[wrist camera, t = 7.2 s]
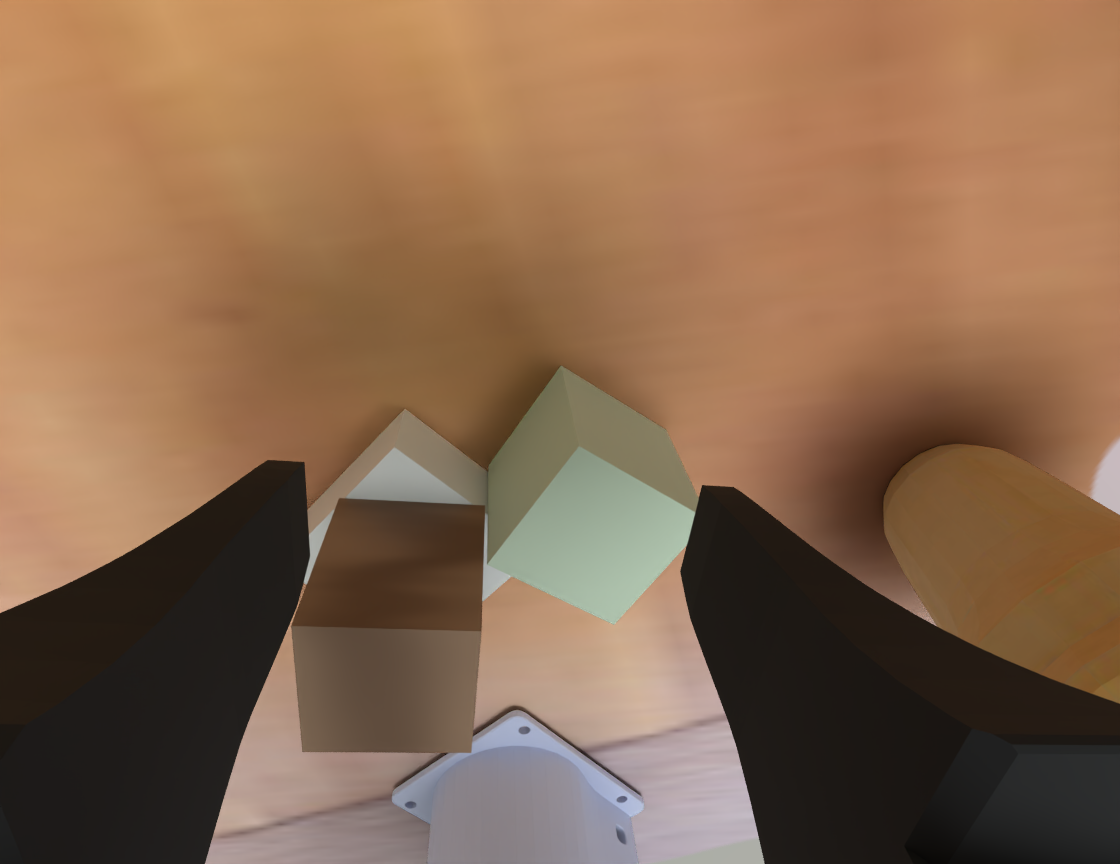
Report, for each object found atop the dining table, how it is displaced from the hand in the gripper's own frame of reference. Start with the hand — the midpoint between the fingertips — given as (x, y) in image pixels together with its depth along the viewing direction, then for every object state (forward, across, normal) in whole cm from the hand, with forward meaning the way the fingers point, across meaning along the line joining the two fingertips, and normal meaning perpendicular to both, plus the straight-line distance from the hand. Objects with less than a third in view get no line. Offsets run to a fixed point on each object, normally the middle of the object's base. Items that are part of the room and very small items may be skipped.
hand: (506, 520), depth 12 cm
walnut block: (+8, +2, +7) cm, 11 cm away
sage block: (+10, -3, +4) cm, 12 cm away
